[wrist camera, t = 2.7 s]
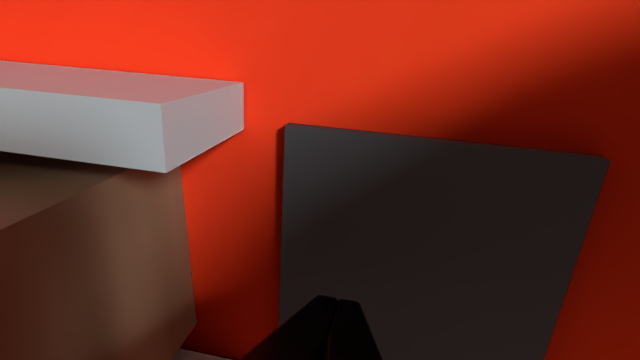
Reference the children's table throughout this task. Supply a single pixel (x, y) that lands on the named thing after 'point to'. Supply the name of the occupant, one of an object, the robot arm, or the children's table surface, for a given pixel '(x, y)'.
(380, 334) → the mat
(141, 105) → the channel
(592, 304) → the children's table surface
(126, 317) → the walnut block
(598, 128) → the children's table surface
